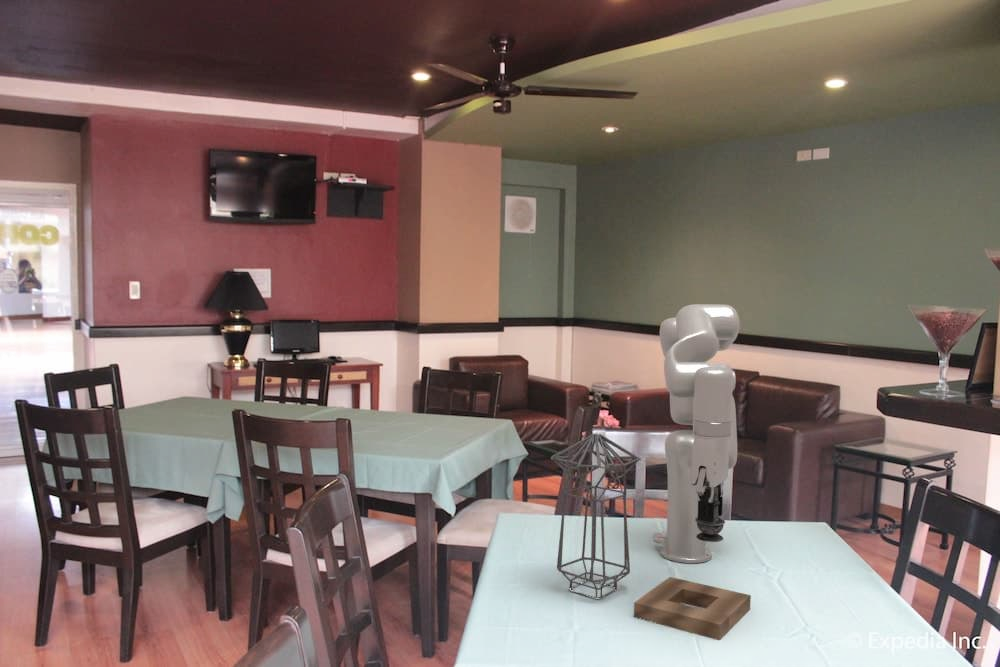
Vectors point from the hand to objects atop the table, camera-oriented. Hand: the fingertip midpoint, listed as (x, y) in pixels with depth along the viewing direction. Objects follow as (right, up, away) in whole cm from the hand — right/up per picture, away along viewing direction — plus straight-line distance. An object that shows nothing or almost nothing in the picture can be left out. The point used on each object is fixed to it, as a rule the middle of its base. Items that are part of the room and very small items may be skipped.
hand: (710, 516), depth 161 cm
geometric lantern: (-22, -20, +16) cm, 33 cm away
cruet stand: (-3, -21, +3) cm, 21 cm away
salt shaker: (0, -5, 0) cm, 5 cm away
